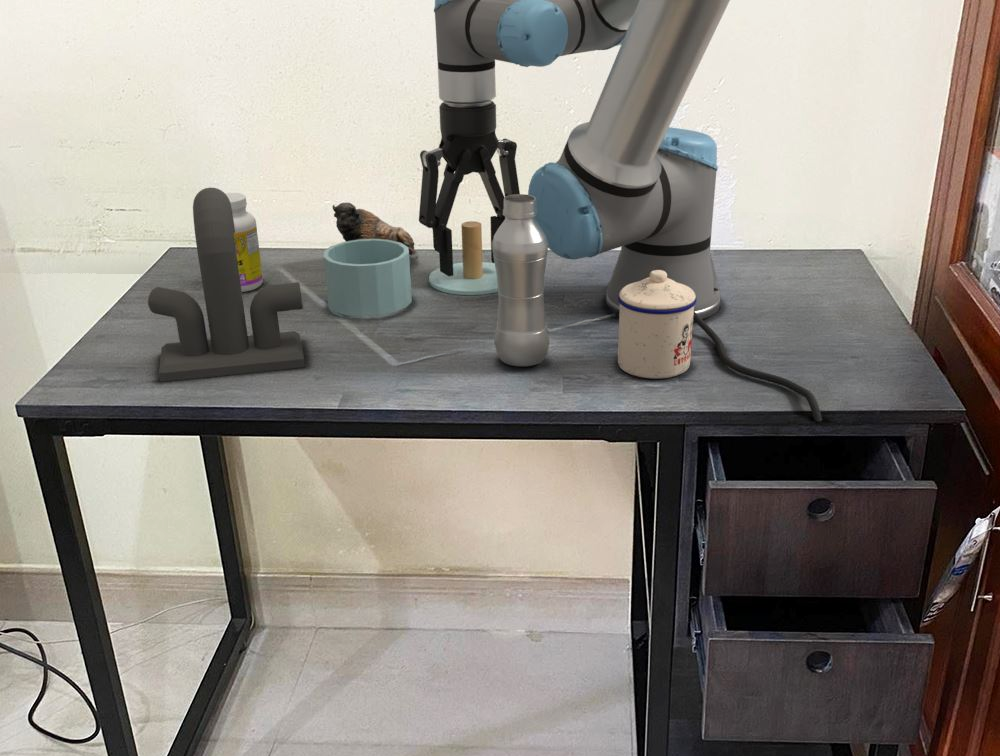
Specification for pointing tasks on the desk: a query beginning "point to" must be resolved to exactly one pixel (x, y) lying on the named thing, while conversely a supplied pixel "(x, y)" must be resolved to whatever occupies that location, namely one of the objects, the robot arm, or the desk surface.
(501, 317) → the silver metal bottle
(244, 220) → the supplement bottle
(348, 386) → the desk surface
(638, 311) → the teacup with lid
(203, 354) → the faucet
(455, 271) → the lid
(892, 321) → the desk surface
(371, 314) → the bowl
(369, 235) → the brown striped lumpy figure
